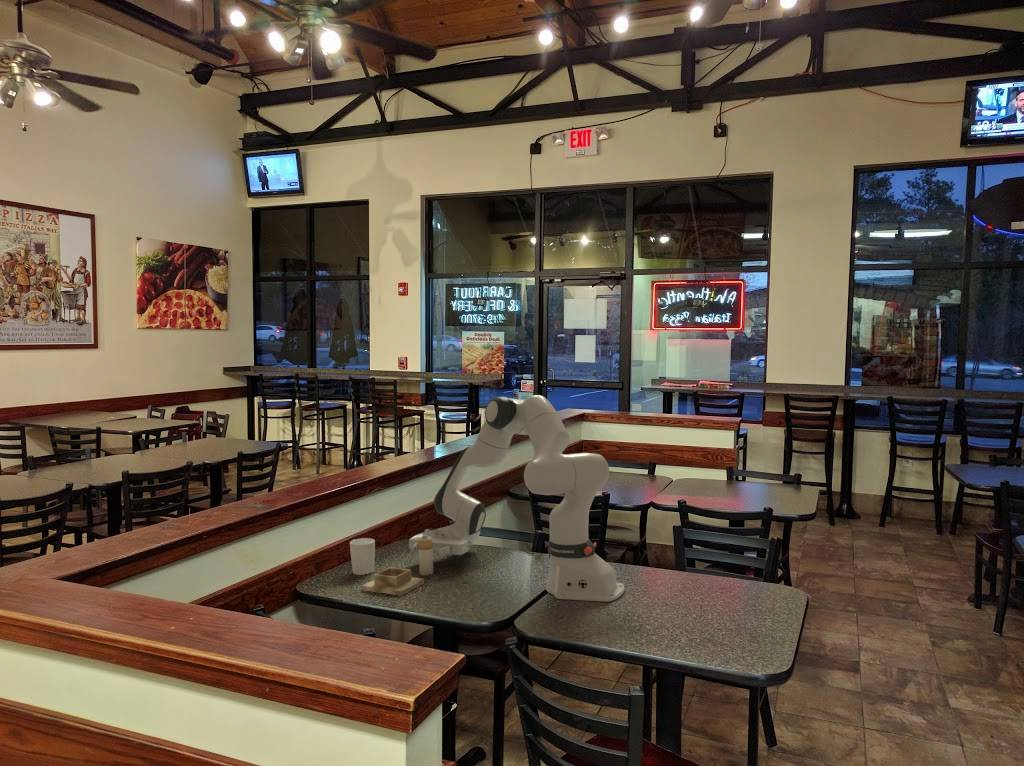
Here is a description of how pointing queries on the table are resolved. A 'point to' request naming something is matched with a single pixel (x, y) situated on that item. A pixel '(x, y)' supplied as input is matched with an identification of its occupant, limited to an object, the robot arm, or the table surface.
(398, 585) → the charging dock
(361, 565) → the white cup
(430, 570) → the battery cell
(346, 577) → the table surface
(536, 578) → the table surface
